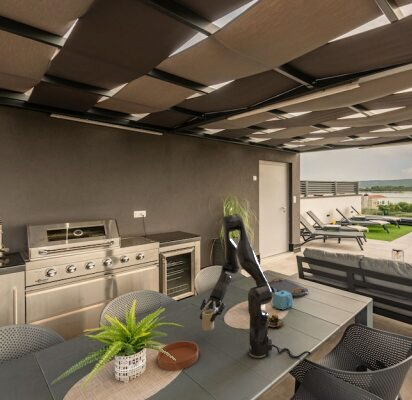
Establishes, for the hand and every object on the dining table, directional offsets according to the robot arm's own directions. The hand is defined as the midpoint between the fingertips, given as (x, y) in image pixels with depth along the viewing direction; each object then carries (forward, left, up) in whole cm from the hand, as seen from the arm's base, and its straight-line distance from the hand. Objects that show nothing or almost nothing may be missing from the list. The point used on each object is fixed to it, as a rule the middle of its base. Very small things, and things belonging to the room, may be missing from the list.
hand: (206, 320), depth 147 cm
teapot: (-46, -43, -11) cm, 64 cm away
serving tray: (-54, -77, -11) cm, 95 cm away
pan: (+10, +16, -11) cm, 22 cm away
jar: (-1, -1, -5) cm, 5 cm away
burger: (-38, -16, -11) cm, 43 cm away
